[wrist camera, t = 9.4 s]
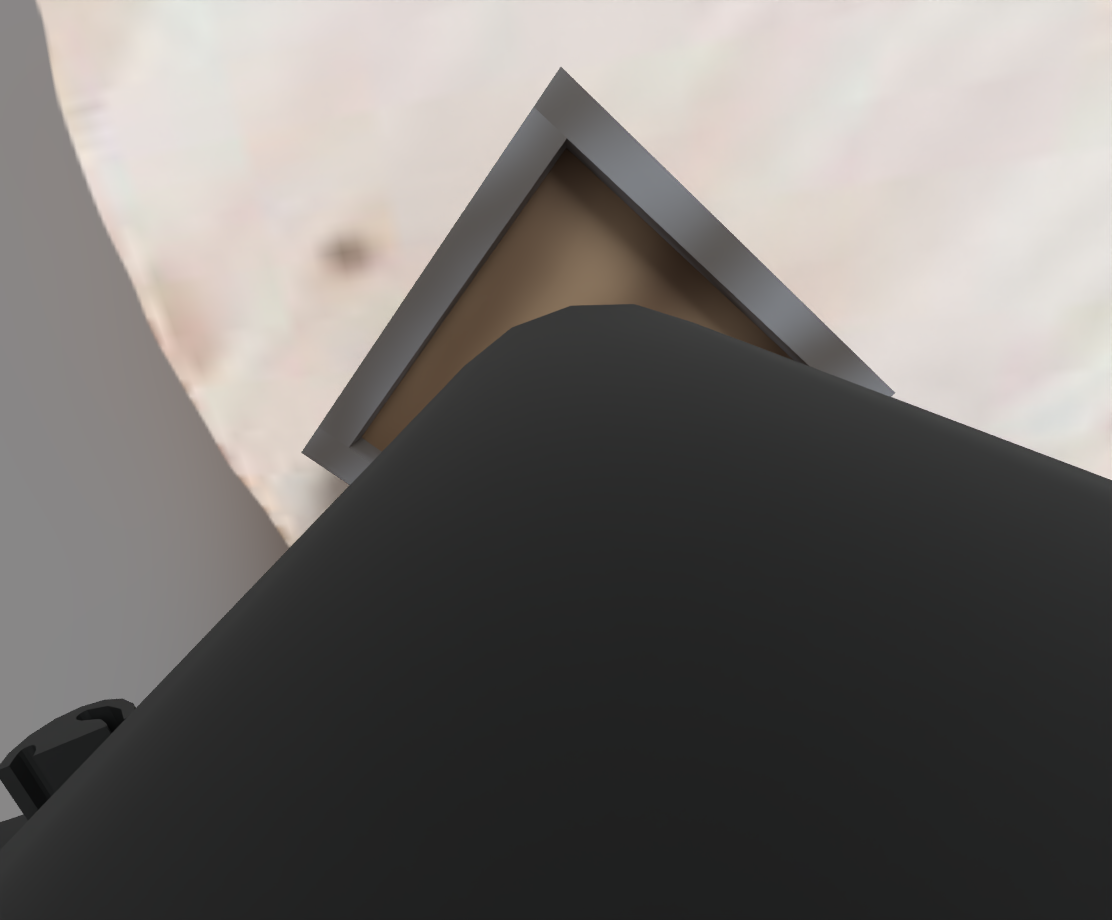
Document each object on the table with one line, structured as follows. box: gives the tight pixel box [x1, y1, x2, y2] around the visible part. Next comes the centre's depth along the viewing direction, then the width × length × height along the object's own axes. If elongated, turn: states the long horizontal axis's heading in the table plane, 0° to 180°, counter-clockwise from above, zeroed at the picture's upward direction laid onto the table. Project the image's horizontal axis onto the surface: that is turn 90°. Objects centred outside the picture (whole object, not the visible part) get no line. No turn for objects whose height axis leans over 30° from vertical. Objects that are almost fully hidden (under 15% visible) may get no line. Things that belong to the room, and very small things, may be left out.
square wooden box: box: [301, 67, 895, 485], centre depth 25 cm, size 18×18×8 cm
